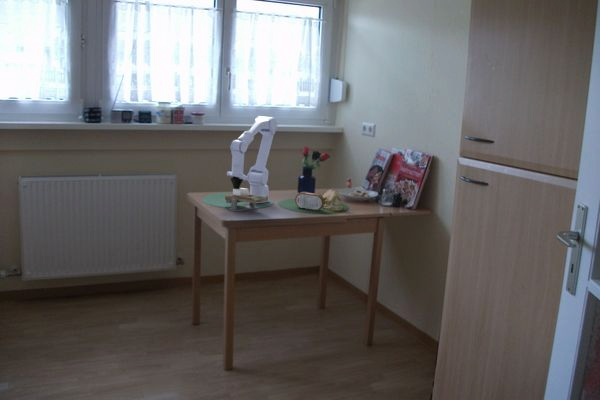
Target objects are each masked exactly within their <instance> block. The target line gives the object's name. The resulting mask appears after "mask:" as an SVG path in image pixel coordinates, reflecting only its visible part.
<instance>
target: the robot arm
mask: <svg viewBox="0 0 600 400" xmlns="http://www.w3.org/2000/svg"><path fill="white" fill-rule="evenodd" d="M277 127H278V121H277V119H276V118H275V117H274V116H273V117H272V116H262V115H257V117H256V118H255V119H254V123H253V125H252V126H251V128H250V129H248V130H246V131H243V133H242V134H241V135H240V136H239V137H238V138H237V139H233V140H232V142H231V143H230V146H229V148H230V151H231V153H230V154H231V155H232V156H231V157H232V158H231V171H226V176H228V177H230V181H231V183H232V186H233V188H232V190H233V189H235V188H241V184H242V182H243V181H247V182H248V183H249V195H258V196H264V195H268V198H269V190H270V189H269V185H267V183H268V181H269V174H270V172H269V170H268V169H267V167H266V166H267V161H268V158H269V154H270V151H271V146H272V143H273V138H274V135H275V134H276V131H277ZM258 133H260V134H261V135H262V137H261V142H260V145H259V146H260V147H259V149H258V154H257V156H256V157H257V158H256V160H255V161H256V162H255V164H254V165H253V166H251V167H250V168H249V171H248V173H247V175H246V174H244V170H245V169H244V168H245V167H244V165H245V152H247V150H248V147H249V145H250V144H252V142H253V141H254V139H255V135H257V134H258ZM268 202H270V200H268V201H266V202H265V203H268ZM260 203H264V202H257V203H256V204H260Z"/></svg>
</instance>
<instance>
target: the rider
mask: <svg viewBox="0 0 600 400" xmlns="http://www.w3.org/2000/svg"><path fill="white" fill-rule="evenodd" d="M249 195H250V188H244V187H239V188H235V189H233V188H232V196H241V197H249Z"/></svg>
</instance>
